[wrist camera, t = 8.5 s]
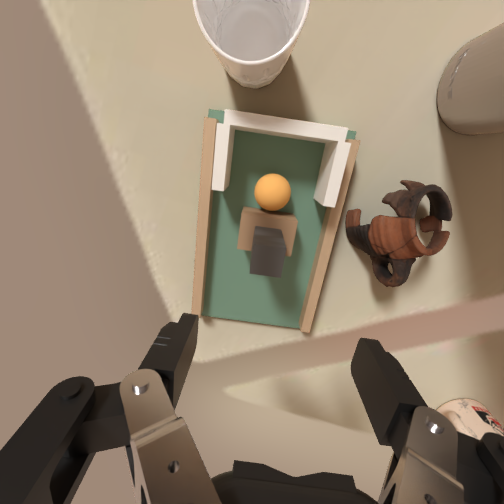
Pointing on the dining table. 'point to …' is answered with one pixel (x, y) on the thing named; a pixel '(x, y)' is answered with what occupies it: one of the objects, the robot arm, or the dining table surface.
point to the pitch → (242, 194)
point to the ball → (272, 192)
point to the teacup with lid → (470, 418)
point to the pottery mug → (401, 231)
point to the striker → (267, 239)
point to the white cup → (252, 35)
